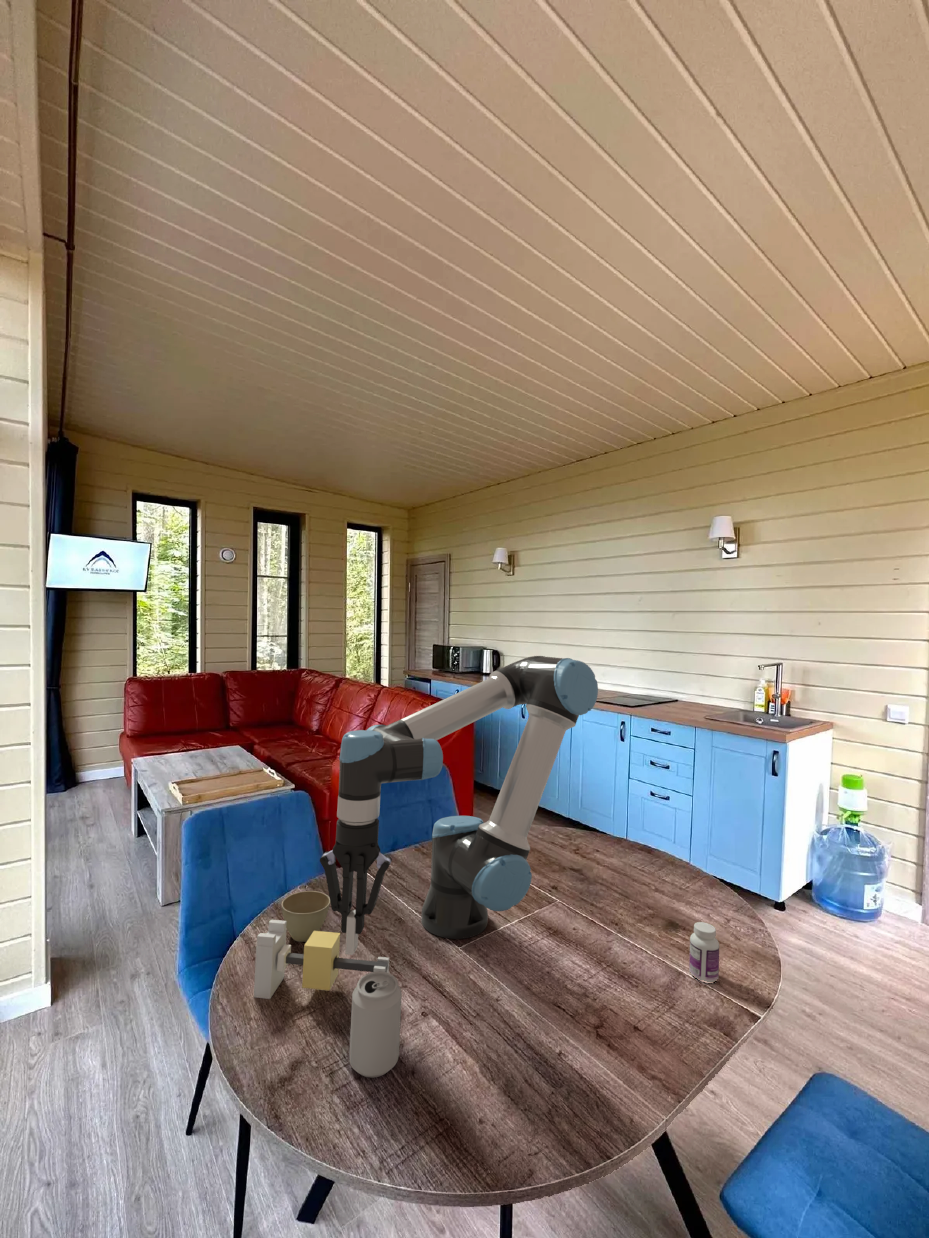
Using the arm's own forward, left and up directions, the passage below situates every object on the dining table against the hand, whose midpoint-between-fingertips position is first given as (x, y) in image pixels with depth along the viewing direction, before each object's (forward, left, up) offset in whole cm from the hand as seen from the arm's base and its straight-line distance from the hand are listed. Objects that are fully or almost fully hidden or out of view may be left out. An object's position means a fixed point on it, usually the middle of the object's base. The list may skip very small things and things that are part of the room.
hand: (351, 949), depth 98 cm
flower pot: (+15, -17, -8) cm, 24 cm away
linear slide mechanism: (+5, 0, -8) cm, 9 cm away
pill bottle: (-67, -16, -8) cm, 69 cm away
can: (-8, +14, -8) cm, 18 cm away
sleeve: (+5, 0, -6) cm, 8 cm away
